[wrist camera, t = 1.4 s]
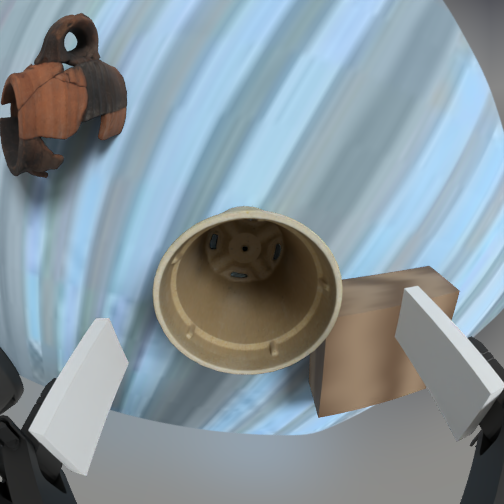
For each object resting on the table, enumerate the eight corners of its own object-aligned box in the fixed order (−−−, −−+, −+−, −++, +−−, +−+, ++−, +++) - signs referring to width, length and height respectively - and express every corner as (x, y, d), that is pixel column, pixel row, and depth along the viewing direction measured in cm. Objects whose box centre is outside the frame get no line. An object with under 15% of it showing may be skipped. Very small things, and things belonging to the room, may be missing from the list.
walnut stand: (308, 381, 28) (318, 417, 23) (310, 283, 23) (326, 318, 18) (407, 359, 28) (425, 388, 23) (429, 265, 23) (459, 290, 19)
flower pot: (167, 200, 20) (123, 240, 12) (294, 170, 20) (332, 190, 12) (202, 308, 24) (189, 384, 16) (313, 284, 23) (346, 354, 15)
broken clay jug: (127, 172, 20) (31, 209, 13) (71, 142, 22) (-3, 166, 15) (157, 15, 13) (44, 4, 6) (89, 22, 15) (5, 26, 8)
